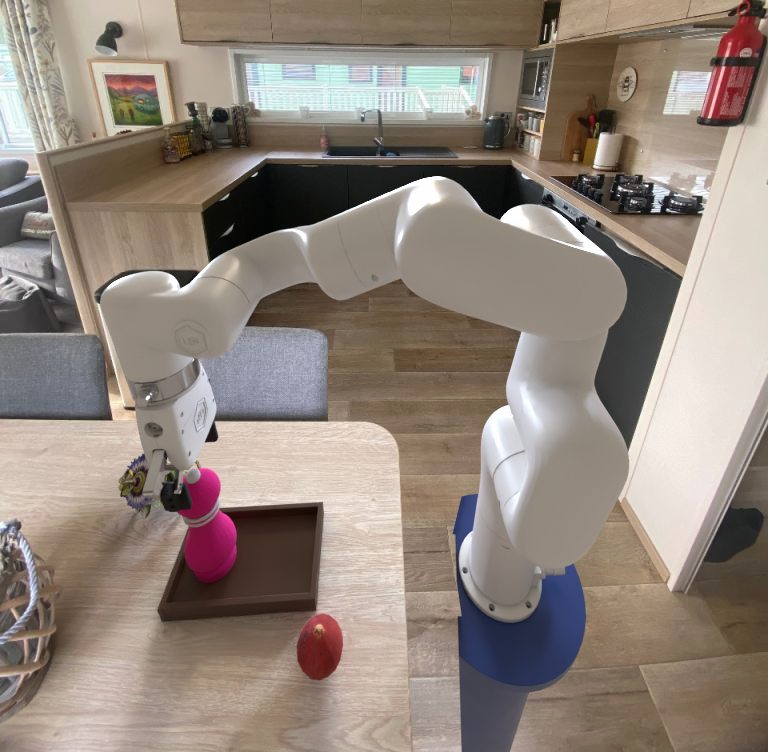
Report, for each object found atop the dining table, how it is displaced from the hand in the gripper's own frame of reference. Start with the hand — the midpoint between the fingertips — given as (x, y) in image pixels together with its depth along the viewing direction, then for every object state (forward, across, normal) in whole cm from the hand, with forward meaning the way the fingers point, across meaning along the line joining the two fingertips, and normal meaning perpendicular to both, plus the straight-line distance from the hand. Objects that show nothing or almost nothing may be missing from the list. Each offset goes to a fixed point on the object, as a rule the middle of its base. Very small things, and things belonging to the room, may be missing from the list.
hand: (194, 471), depth 53 cm
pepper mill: (+20, 0, +1) cm, 20 cm away
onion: (+22, -12, -17) cm, 30 cm away
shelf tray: (+21, 0, -5) cm, 22 cm away
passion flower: (+21, +12, +14) cm, 28 cm away
